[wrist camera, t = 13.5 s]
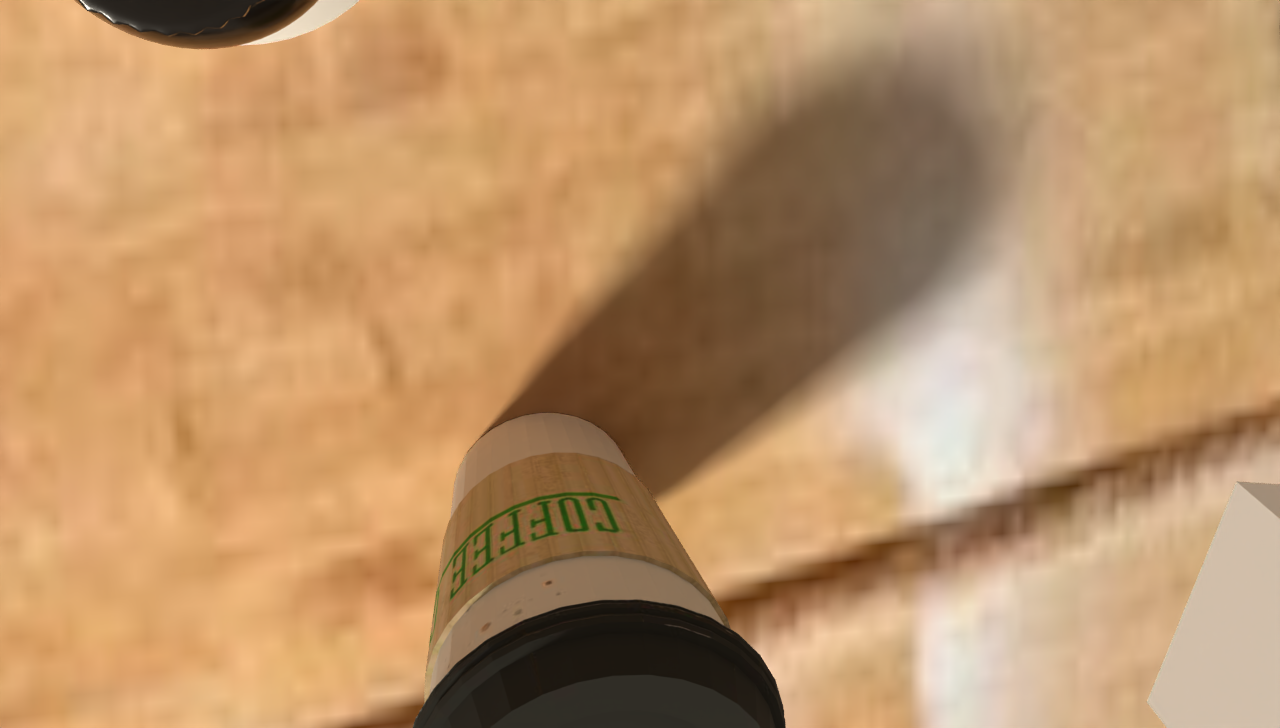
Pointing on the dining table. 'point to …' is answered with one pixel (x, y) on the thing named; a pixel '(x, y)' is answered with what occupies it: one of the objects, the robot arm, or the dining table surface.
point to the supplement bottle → (199, 19)
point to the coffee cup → (577, 599)
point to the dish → (310, 20)
